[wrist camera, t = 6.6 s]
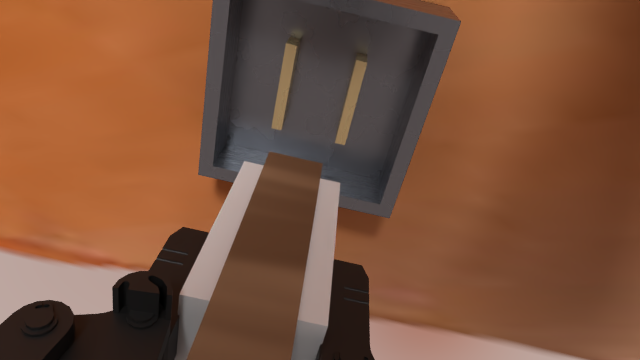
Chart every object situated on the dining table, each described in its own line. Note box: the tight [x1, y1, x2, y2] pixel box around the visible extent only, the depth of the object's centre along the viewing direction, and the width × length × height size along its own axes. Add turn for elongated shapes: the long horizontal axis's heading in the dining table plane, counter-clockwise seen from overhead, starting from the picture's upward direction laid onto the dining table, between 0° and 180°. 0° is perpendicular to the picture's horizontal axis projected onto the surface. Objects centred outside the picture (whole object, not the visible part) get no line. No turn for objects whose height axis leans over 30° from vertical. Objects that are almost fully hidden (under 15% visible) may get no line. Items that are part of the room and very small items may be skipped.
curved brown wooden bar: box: [186, 151, 323, 360], centre depth 12 cm, size 3×2×12 cm, turn 168°
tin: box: [198, 0, 461, 218], centre depth 25 cm, size 12×12×4 cm
